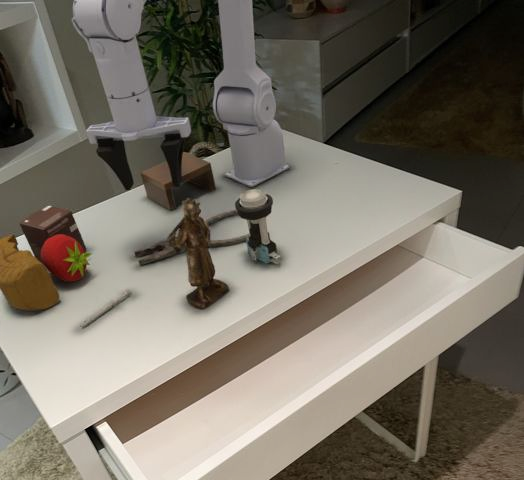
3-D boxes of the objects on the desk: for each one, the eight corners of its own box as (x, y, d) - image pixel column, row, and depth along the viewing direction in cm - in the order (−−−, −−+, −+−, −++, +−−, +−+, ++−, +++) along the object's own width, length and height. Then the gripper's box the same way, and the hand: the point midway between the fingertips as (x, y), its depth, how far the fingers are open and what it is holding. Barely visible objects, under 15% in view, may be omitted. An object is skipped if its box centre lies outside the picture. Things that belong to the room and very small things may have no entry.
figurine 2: (32, 265, 92) (63, 301, 82) (-7, 283, 90) (20, 322, 80) (13, 227, 88) (43, 260, 78) (-28, 245, 86) (-3, 281, 75)
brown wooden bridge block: (191, 177, 108) (185, 152, 104) (215, 188, 103) (210, 162, 99) (147, 197, 104) (140, 172, 100) (170, 211, 99) (163, 184, 95)
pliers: (268, 225, 89) (158, 278, 82) (269, 230, 89) (159, 283, 82) (235, 205, 95) (130, 252, 88) (236, 209, 96) (131, 257, 89)
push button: (292, 258, 83) (286, 196, 76) (264, 274, 81) (255, 212, 74) (264, 242, 87) (256, 182, 80) (237, 257, 85) (226, 197, 78)
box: (61, 270, 89) (42, 229, 84) (36, 262, 92) (17, 222, 87) (88, 250, 92) (72, 210, 88) (63, 243, 95) (46, 204, 90)
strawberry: (44, 224, 86) (87, 226, 81) (68, 265, 91) (110, 269, 86) (16, 246, 83) (59, 249, 78) (42, 287, 88) (84, 293, 82)
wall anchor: (126, 292, 82) (131, 296, 81) (79, 326, 77) (84, 330, 77) (126, 288, 81) (131, 292, 81) (78, 322, 77) (83, 326, 76)
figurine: (194, 317, 76) (167, 218, 66) (175, 307, 78) (147, 210, 68) (232, 289, 79) (212, 191, 69) (214, 280, 81) (192, 184, 71)
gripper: (65, 106, 73) (99, 201, 82) (171, 97, 70) (194, 196, 79) (85, 87, 78) (115, 178, 87) (185, 78, 75) (205, 173, 84)
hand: (153, 185), depth 84 cm, fingers open, 7 cm apart
